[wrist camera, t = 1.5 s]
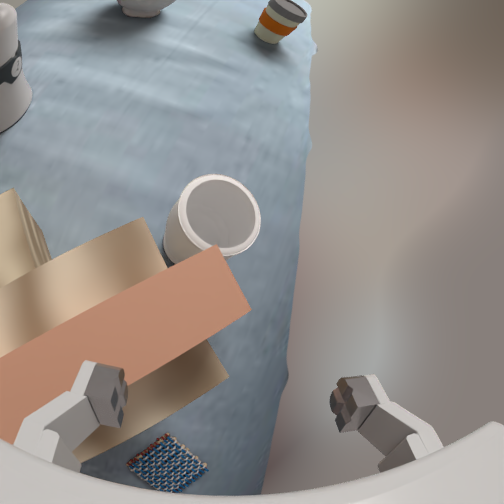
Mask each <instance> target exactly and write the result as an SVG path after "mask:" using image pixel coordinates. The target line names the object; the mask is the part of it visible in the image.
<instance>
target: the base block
mask: <svg viewBox="0 0 504 504" xmlns="http://www.w3.org/2000/svg"><path fill="white" fill-rule="evenodd" d="M50 260H52V259H51V256H50V253H49V250H48V247H47V244H46V241H45V238H44V235H43V232H42V230H41V229H40V227H39V226H38V225H37V223H36V222H35V220H34V219H33V217H32V216H31V214H30V213H29V211H28V210H27V208H26V207H25V205H24V204H23V202H22V201H21V199H20V198H19V196H18V194H17V193H16V191H15V189H14V188H12V189H10V190H8V191H6V192H4V193H3V194H1V195H0V288H2V287H3V286H5V285H7V284H9V283H10V282H12V281H14V280H15V279H17V278H19V277H21V276H23V275H24V274H26V273H28V272H30V271H32V270H33V269H35V268H37V267H39V266H41V265H43V264H45V263H47V262H48V261H50Z"/></svg>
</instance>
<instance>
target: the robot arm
mask: <svg viewBox="0 0 504 504" xmlns="http://www.w3.org/2000/svg"><path fill="white" fill-rule="evenodd" d="M31 100H32V89H31V87H30V86H29V84H28V82H27V80H26V78H25V75H24V73H23V70H22V54H21V45H20V41H19V40H18V33H17V13H16V11H15V9H14V8H13V7H12V6H11V5H9V4H6V3H0V132H2V131H4V130H6V129H7V128H9V127H10V126H12V125H13V124H14V123H15V122H17V121H18V120H19V119H20V118H21V117H22V115H23V114H24V113H25V112H26V110H27V109H28V107H29V105H30V103H31ZM124 377H125V372H124V369H123V368H119V367H114V366H110V365H105V364H101V363H96V362H92V361H88V360H85V361H84V362H83V363H82V365H81V368H80V370H79V372H78V374H77V377H76V379H75V381H74V384H73V386H72V388H71V391H70V392H69V391H66V392H64V393H63V394H61V395H60V396H58V397H57V398H55V399H53V400H52V401H50V402H49V403H47V404H46V405H44V406H43V407H41V408H40V409H38V410H36V411H35V412H33V413H32V414H30V415H29V416H27V417H26V418H24V420H23V422H22V425H21V427H20V429H19V432H18V434H17V437H16V439H15V442H14V445H12V444H10V443H8V442H6V441H4V440H2V439H1V438H0V504H504V426H503V425H502V424H500V423H497V422H495V421H493V422H489V423H487V424H486V425H484V426H482V427H481V428H479V429H477V430H476V431H474V432H472V433H470V434H469V435H467V436H465V437H463V438H461V439H459V440H458V441H456V442H454V443H452V444H450V445H448V446H446V447H443V445H442V443H441V441H440V440H439V438H438V436H437V434H436V432H435V431H434V429H433V427H432V426H431V425H429V424H427V423H426V422H424V421H423V420H421V419H420V418H418V417H416V416H415V415H413V414H412V413H410V412H408V411H407V410H405V409H404V408H402V407H401V406H399V405H398V404H396V403H395V402H390V400H389V399H388V397H387V395H386V393H385V391H384V390H383V388H382V386H381V384H380V382H379V381H378V379H377V377H376V376H375V375H374V374H372V375H363V376H353V377H344V378H341V379H339V381H338V382H337V386H338V388H336V389H335V390H333V392H332V394H331V396H330V407H331V410H332V412H333V413H334V414H335V415H337V417H336V419H335V421H336V424H337V427H338V430H339V432H340V433H341V432H348V431H355V430H358V432H359V433H360V434H361V435H362V436H364V437H365V438H366V439H367V440H368V441H369V442H370V443H371V444H372V445H374V446H375V447H376V448H377V449H378V450H379V451H380V452H381V453H382V454H384V455H385V456H386V457H385V458H384V459H383V460H382V461H381V462H379V464H378V468H379V471H380V473H378V474H374V475H371V476H367V477H364V478H360V479H356V480H352V481H348V482H344V483H340V484H335V485H331V486H326V487H321V488H315V489H309V490H303V491H296V492H288V493H278V494H267V495H248V496H209V495H192V494H180V493H171V492H163V491H156V490H149V489H143V488H138V487H133V486H128V485H123V484H119V483H114V482H110V481H106V480H102V479H99V478H95V477H92V476H88V475H85V474H82V473H80V469H81V463H80V461H79V460H78V459H77V458H76V457H75V455H74V454H73V453H72V451H73V450H74V449H75V448H76V447H77V446H79V445H80V444H81V443H82V442H83V441H84V440H85V439H86V438H87V437H88V436H89V435H90V434H91V433H92V432H93V431H94V430H95V429H96V428H98V427H99V426H100V425H99V424H101V425H106V426H111V427H116V428H121V425H122V421H123V416H124V413H123V410H122V408H123V407H124V406H126V403H127V399H128V386H127V382H126V381H125V380H124Z"/></svg>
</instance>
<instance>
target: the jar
mask: <svg viewBox="0 0 504 504" xmlns="http://www.w3.org/2000/svg"><path fill="white" fill-rule="evenodd" d="M260 225H261V216H260V210H259V207H258V204H257V202H256V200H255V198H254V196H253V195H252V194H251V192H250V191H249V190H248V189H247V188H246V187H245V186H244V185H243V184H241V183H240V182H239V181H237V180H235V179H233V178H231V177H228V176H225V175H221V174H207V175H203V176H200V177H198V178H196V179H194V180H193V181H191V182H190V183H189V184H188V185H187V186H186V187H185V189H184V190H183V192H182V194H181V196H180V198H179V200H178V201H177V202H176V203H175V205H174V206H173V208H172V209H171V211H170V213H169V216H168V219H167V223H166V230H165V235H164V239H163V245H164V250H165V252H166V254H167V256H168V258H169V259H170V260H171V261H172V262H173V263H175V264H177V263H179V262H181V261H183V260H185V259H187V258H189V257H191V256H193V255H195V254H197V253H200V252H202V251H204V250H206V249H208V248H210V247H212V246H214V245H216V244H217V245H218V247H219V249H220V251H221V253H222V255H223V257H224V259H225V261H226V260H227V259H229V258H231V257H232V256H233V255H237V254H239V253H241V252H243V251H244V250H246V249H247V248H248V247H250V246H251V245H252V243H253V242H254V241H255V239H256V238H257V236H258V233H259V230H260Z"/></svg>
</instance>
